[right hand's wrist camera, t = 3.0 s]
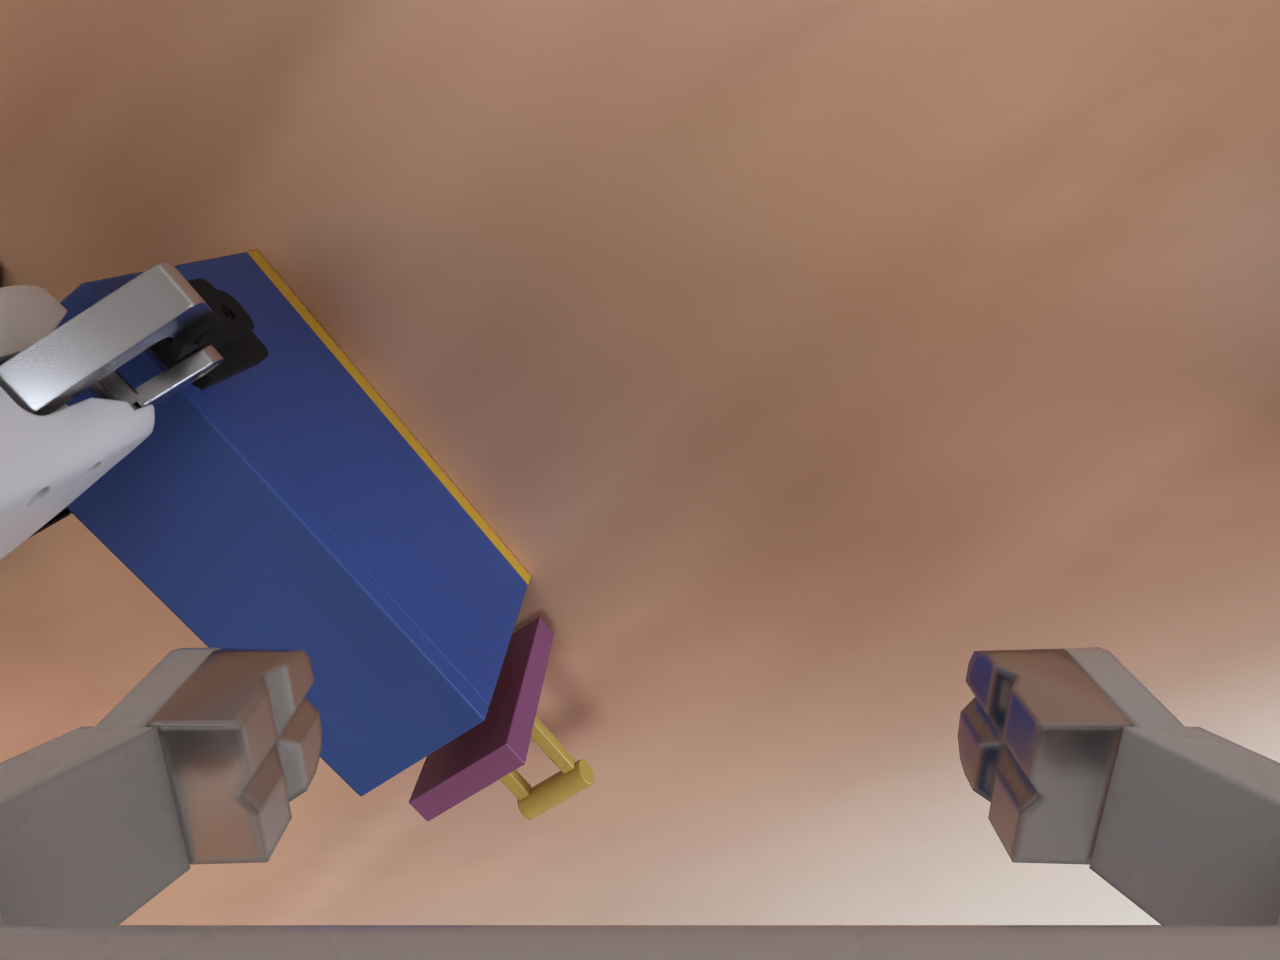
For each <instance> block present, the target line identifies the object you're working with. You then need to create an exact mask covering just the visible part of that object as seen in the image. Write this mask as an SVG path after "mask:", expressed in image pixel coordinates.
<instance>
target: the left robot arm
mask: <svg viewBox="0 0 1280 960" xmlns="http://www.w3.org/2000/svg"><path fill="white" fill-rule="evenodd" d="M67 311H68V310H67V309H66V308H64V307H63V306H62V305H61V304H60V303H59V302H58V301H57V300H56V299H55V298H54V297H53V296H52V295H51V294H50V293H49V292H48V291H47V290H46V289H44V288H42V287H37V286H30V285H15V286H7V287H1V288H0V560H1V559H2V558H3V557H5V556H6V555H7V554H8V553H10V552H11V551H12V550H14V549H15V548H16V547H18V546H19V545H20V544H21V543H23V542H24V541H25V540H27V539H28V538H30V537H31V536H33V535H35V534H37V533H38V532H40V531H42V530H44V529H45V528H47V527H49V526H51V525H53V524H54V523H56V522H58V521H60V520H61V519H63V518H65V517H67V516H68V515H70V514H71V513H72V512H71V511H70V510H69V509H68V508H67V506H68V505H69V504H70V503H71V502H73V501H74V500H75V499H76V498H77V497H78V496H80V495H81V494H82V493H83V492H84V491H85V490H87V489H88V488H89V487H90V486H91V485H92V484H94V483H95V482H96V481H97V480H98V479H99V478H100V477H102V476H103V475H104V474H105V473H106V472H107V471H109V470H110V469H111V468H112V467H113V466H114V465H116V464H117V463H118V462H119V461H120V460H122V459H123V458H124V457H125V456H126V455H128V454H129V453H130V452H131V451H132V450H134V449H135V448H136V447H137V446H138V445H139V444H141V443H142V442H143V441H144V440H145V439H146V438H147V437H148V436H149V435H150V434H151V433H152V431H153V427H154V421H155V411H154V407H155V406H157V405H159V404H160V403H162V402H163V401H165V400H166V399H168V398H170V397H171V396H173V395H174V394H176V393H178V392H179V391H181V390H182V389H184V388H186V387H187V386H189V385H190V384H192V385H194V386H195V387H198V388H200V389H201V390H204V389H206V388H208V387H210V386H212V385H215V384H217V383H219V382H221V381H223V380H225V379H228V378H230V377H232V376H234V375H236V374H239V373H241V372H243V371H245V370H247V369H249V368H252V367H254V366H256V365H258V364H259V363H260V362H261V361H263V360H264V359H265V358H266V357H268V355H269V353H268V350H267V348H266V347H265V345H264V344H263V343H262V342H261V341H260V339H259V338H258V337H257V336H256V335H255V334H254V333H253V331H252V330H253V329H254V323H253V321H252V319H251V317H250V316H249V314H248V313H247V312H246V311H245V309H244V308H243V307H242V306H241V305H240V304H239V302H238V301H237V300H236V299H235V298H233V297H232V296H231V295H230V294H228V293H226V292H225V291H222V290H216V289H215V287H214V286H213V285H212V284H211V283H209V282H208V281H206V280H205V279H202V278H198V279H193V280H188V281H187V280H186V279H185V278H184V277H183V276H182V275H181V273H180V272H179V271H178V270H177V269H176V268H175V267H174V265H173V264H172V263H171V262H170V261H165V262H161V263H159V264H157V265H155V266H153V267H151V268H149V269H148V270H146V271H145V272H143V273H142V274H140V275H139V276H137V277H135V278H134V279H132V280H131V281H129V282H128V283H126V284H125V285H123V286H122V287H120V288H119V289H117V290H115V291H114V292H112V293H111V294H109V295H108V296H106V297H105V298H103V299H102V300H100V301H99V302H97V303H95V304H94V305H92V306H91V307H89V308H88V309H86V310H85V311H83V312H82V313H80V314H78V315H77V316H75V317H74V318H72V319H71V320H69V321H68V322H66V323H65V324H63V325H62V326H60V327H58V328H57V329H56V327H57V326H58V325H59V323H60V322H61V320H62V319H63V318H64V316H65V315H66V313H67ZM147 348H150V349H151V350H152V351H153V352H154V354H155V355H156V356H157V357H158V358H159V359H160V360H161V361H162V362H163V363H164V364H165V366H166V367H167V368H168V369H167V370H165V371H163V372H162V373H160V374H158V375H157V376H155V377H153V378H152V379H150V380H148V381H147V382H145V383H143V384H142V385H140V386H138V387H137V388H135V389H134V388H133V387H132V386H131V385H130V384H129V383H128V382H127V381H126V380H125V378H124V377H123V376H122V375H121V374H120V373H119V372H118V371H117V370H116V369H118V368H119V367H121V366H122V365H124V364H125V363H126V362H128V361H129V360H131V359H132V358H134V357H135V356H137V355H138V354H140V353H141V352H143V351H144V350H146V349H147ZM87 389H88V390H89V391H90V392H91V393H92V394H93V395H94V396H95V397H96V398H89V399H86V400H84V401H81V402H79V403H76V404H74V405H71V406H68V405H67V404H66V403H67V402H69V401H70V400H72V399H73V398H75V397H76V396H78V395H79V394H81V393H82V392H84V391H85V390H87Z"/></svg>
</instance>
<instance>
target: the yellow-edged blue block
mask: <svg viewBox="0 0 1280 960" xmlns="http://www.w3.org/2000/svg"><path fill="white" fill-rule="evenodd" d="M174 267H175V268H176V269H177V270H178V271H179V272H180V273H181V275H182V276H183V277H184V278H185V279H186V280H187V281H188V280H193V279H198V278H202V279H205V280H206V281H208V282H209V283H211V284H212V285H213V286H214V287H215V289H216V290H222V291H225V292H226V293H228V294H230V295H231V296H232V297H233V298H235V299H236V300H237V301H238V302H239V304H240V305H241V306H242V307H243V308H244V309H245V311H246V312H247V313H248V314H249V316H250V317H251V319H252V321H253V323H254V329H253V330H252V331H253V333H254V334H255V335H256V336H257V337H258V338H259V339H260V341H261V342H262V343H263V344H264V345H265V347H266V348H267V350H268V353H269V355H268V357H266V358H265V359H264V360H263V361H261V362H260V363H259V364H258V365H256V366H254V367H252V368H249V369H247V370H245V371H243V372H241V373H239V374H236V375H234V376H232V377H230V378H228V379H225V380H223V381H221V382H219V383H217V384H215V385H212V386H210V387H208V388H206V389H204V390H201V389H200V388H198V387H195V386H194V385H192V384H190V385H189V386H187V387H186V388H184V389H182V390H181V391H179V392H178V393H176V394H174V395H173V396H171V397H170V398H168V399H166V400H165V401H163V402H162V403H160V404H159V405H157V406H155V407H154V411H155V421H154V427H153V431H152V433H151V434H150V435H149V436H148V437H147V438H146V439H145V440H144V441H143V442H142V443H141V444H139V445H138V446H137V447H136V448H135V449H134V450H132V451H131V452H130V453H129V454H128V455H126V456H125V457H124V458H123V459H122V460H120V461H119V462H118V463H117V464H116V465H114V466H113V467H112V468H111V469H110V470H109V471H107V472H106V473H105V474H104V475H103V476H102V477H100V478H99V479H98V480H97V481H96V482H95V483H94V484H92V485H91V486H90V487H89V488H88V489H87V490H85V491H84V492H83V493H82V494H81V495H80V496H78V497H77V498H76V499H75V500H74V501H73V502H71V503H70V504H69V505H68V506H67V508H68V509H69V510H70V511H71V512H72V513H73V514H74V515H75V516H76V517H77V518H78V519H79V520H80V521H81V522H82V523H83V524H84V525H85V526H86V527H87V528H88V529H89V530H90V531H91V532H92V533H93V534H94V535H95V536H96V537H97V538H98V539H99V540H100V541H101V542H102V543H103V544H104V545H105V546H106V547H107V548H108V549H109V550H110V551H111V552H112V553H113V554H114V555H115V556H116V557H117V558H118V559H119V560H120V561H121V562H122V563H123V564H125V565H126V566H127V567H128V568H129V569H130V570H131V571H132V572H133V573H134V574H135V575H136V576H137V577H138V578H139V579H140V580H141V581H142V582H143V583H144V584H145V585H146V586H147V587H148V588H149V589H150V590H151V591H152V592H153V593H154V594H155V595H156V596H157V597H158V598H159V599H160V600H161V601H162V602H163V603H164V604H165V605H166V606H167V607H168V608H169V609H170V610H171V611H172V612H173V613H174V614H175V615H176V616H177V617H178V618H179V619H180V620H181V621H182V622H184V623H185V624H186V625H187V626H188V627H189V628H190V629H191V630H192V631H193V632H194V633H195V634H196V635H197V636H198V637H199V638H200V639H201V640H202V641H203V642H204V643H205V644H206V645H207V646H208V647H209V648H219V649H223V648H239V649H289V650H303V651H304V652H305V653H306V654H307V655H308V656H309V657H310V662H311V667H312V672H313V677H314V682H313V684H312V685H311V687H310V689H309V690H308V692H307V693H306V695H305V696H304V697H305V698H306V699H307V700H308V701H309V702H310V703H311V704H312V705H313V706H314V707H315V708H316V709H317V710H318V711H319V713H320V720H321V727H322V747H321V753H320V757H321V758H322V759H323V760H324V761H325V762H326V763H327V764H328V765H329V766H330V767H331V768H332V769H333V770H334V771H335V772H336V773H337V774H338V775H339V776H340V777H341V778H342V779H343V780H344V781H345V782H346V783H347V784H348V785H349V786H350V787H351V788H352V789H353V790H354V791H355V792H356V793H357V794H358V795H360V796H363V795H364V794H366V793H368V792H369V791H371V790H372V789H374V788H376V787H377V786H379V785H381V784H382V783H384V782H385V781H387V780H389V779H390V778H392V777H393V776H395V775H397V774H398V773H400V772H402V771H403V770H405V769H406V768H408V767H410V766H411V765H413V764H415V763H416V762H418V761H419V760H421V759H423V758H424V757H426V756H428V755H429V754H431V753H432V752H434V751H436V750H437V749H439V748H441V747H442V746H444V745H445V744H447V743H449V742H450V741H452V740H454V739H455V738H457V737H458V736H460V735H462V734H463V733H465V732H467V731H468V730H470V729H471V728H473V727H475V726H476V725H478V724H480V723H481V722H483V721H484V720H485V718H486V715H487V711H488V707H489V705H490V702H491V699H492V696H493V693H494V689H495V686H496V683H497V680H498V677H499V674H500V670H501V667H502V664H503V661H504V658H505V655H506V651H507V648H508V645H509V642H510V639H511V636H512V632H513V629H514V626H515V623H516V620H517V616H518V613H519V610H520V607H521V604H522V601H523V597H524V594H525V591H526V588H527V586H528V585H529V582H530V578H531V576H530V575H529V574H528V572H527V571H526V570H525V569H524V568H523V566H522V565H521V564H520V563H519V562H518V560H517V559H516V558H515V557H514V556H513V554H512V553H511V552H510V551H509V550H508V548H507V547H506V546H505V545H504V544H503V543H502V541H501V540H500V539H499V538H498V537H497V535H496V534H495V533H494V532H493V531H492V529H491V528H490V527H489V526H488V525H487V523H486V522H485V521H484V520H483V519H482V518H481V516H480V515H479V514H478V513H477V512H476V510H475V509H474V508H473V507H472V506H471V504H470V503H469V502H468V501H467V500H466V498H465V497H464V496H463V495H462V494H461V492H460V491H459V490H458V489H457V488H456V487H455V485H454V484H453V483H452V482H451V481H450V479H449V478H448V477H447V476H446V475H445V473H444V472H443V471H442V470H441V469H440V467H439V466H438V465H437V464H436V463H435V462H434V460H433V459H432V458H431V457H430V456H429V454H428V453H427V452H426V451H425V450H424V448H423V447H422V446H421V445H420V444H419V442H418V441H417V440H416V439H415V438H414V436H413V435H412V434H411V433H410V432H409V431H408V429H407V428H406V427H405V426H404V425H403V423H402V422H401V421H400V420H399V419H398V417H397V416H396V415H395V414H394V413H393V411H392V410H391V409H390V408H389V407H388V406H387V404H386V403H385V402H384V401H383V400H382V398H381V397H380V396H379V395H378V394H377V392H376V391H375V390H374V389H373V388H372V386H371V385H370V384H369V383H368V382H367V380H366V379H365V378H364V377H363V376H362V375H361V373H360V372H359V371H358V370H357V369H356V367H355V366H354V365H353V364H352V363H351V361H350V360H349V359H348V358H347V357H346V355H345V354H344V353H343V352H342V351H341V350H340V348H339V347H338V346H337V345H336V344H335V342H334V341H333V340H332V339H331V338H330V336H329V335H328V334H327V333H326V332H325V330H324V329H323V328H322V327H321V326H320V324H319V323H318V322H317V321H316V320H315V319H314V317H313V316H312V315H311V314H310V313H309V311H308V310H307V309H306V308H305V307H304V305H303V304H302V303H301V302H300V301H299V299H298V298H297V297H296V296H295V295H294V294H293V292H292V291H291V290H290V289H289V288H288V286H287V285H286V284H285V283H284V282H283V280H282V279H281V278H280V277H279V276H278V274H277V273H276V272H275V271H274V270H273V268H272V267H271V266H270V265H269V264H268V263H267V261H266V260H265V259H264V258H263V257H262V255H261V254H260V253H259V252H258V251H257V249H256V250H250V251H246V252H245V253H240V254H235V255H230V256H224V257H219V258H214V259H208V260H203V261H198V262H192V263H187V264H182V265H177V266H174ZM142 273H143V272H140V273H134V274H129V275H124V276H118V277H113V278H108V279H102V280H100V281H99V280H97V281H92V282H87V283H82V284H81V285H80V286H79V287H77V288H76V289H75V290H74V291H73V292H72V293H71V294H70V295H68V296H67V297H66V298H65V299H64V300H63V301H62V302H61V303H60V304H61V305H62V306H63V307H64V308H66V309H67V310H68V311H67V313H66V315H65V316H64V318H63V319H62V320H61V322H60V323H59V325H58V326H57V327H56V329H57V328H58V327H60V326H62V325H63V324H65V323H66V322H68V321H69V320H71V319H72V318H74V317H75V316H77V315H78V314H80V313H82V312H83V311H85V310H86V309H88V308H89V307H91V306H92V305H94V304H95V303H97V302H99V301H100V300H102V299H103V298H105V297H106V296H108V295H109V294H111V293H112V292H114V291H115V290H117V289H119V288H120V287H122V286H123V285H125V284H126V283H128V282H129V281H131V280H132V279H134V278H135V277H137V276H139V275H140V274H142ZM167 369H168V368H167V367H166V366H165V364H164V363H163V362H162V361H161V360H160V359H159V358H158V357H157V356H156V355H155V354H154V352H153V351H152V350H151V349H150V348H147V349H146V350H144V351H143V352H141V353H140V354H138V355H137V356H135V357H134V358H132V359H131V360H129V361H128V362H126V363H125V364H124V365H122V366H121V367H119V368H118V369H116V370H117V371H118V372H119V373H120V374H121V375H122V376H123V377H124V378H125V380H126V381H127V382H128V383H129V384H130V385H131V386H132V387H133V388H134V389H135V388H137V387H138V386H140V385H142V384H143V383H145V382H147V381H148V380H150V379H152V378H153V377H155V376H157V375H158V374H160V373H162V372H163V371H165V370H167ZM89 398H96V397H95V396H94V395H93V394H92V393H91V392H90V391H89V390H88V389H87V390H85V391H84V392H82V393H81V394H79V395H78V396H76V397H75V398H73V399H72V400H70V401H69V402H67V403H66V404H67V405H68V406H71V405H74V404H76V403H79V402H81V401H84V400H86V399H89Z"/></svg>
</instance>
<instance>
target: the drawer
mask: <svg viewBox="0 0 1280 960" xmlns="http://www.w3.org/2000/svg"><path fill="white" fill-rule="evenodd" d="M553 636H554V633H553V632H552V631H551V630H550V628H549V627H548V626H547V625H546V624H545V623H544V621H543V620H542V619H541V618H540V617H539V618H537V619H536V620H534V621H533V622H531V623H529V624H528V625H526V626H525V627H523V628H522V629H520V630H519V631H517V632H515V633H514V634H512V636H511V639H510V642H509V645H508V648H507V651H506V655H505V658H504V661H503V664H502V667H501V670H500V674H499V677H498V680H497V683H496V686H495V689H494V693H493V696H492V699H491V702H490V705H489V707H488V711H487V715H486V718H485V720H484V721H483V722H481V723H480V724H478V725H476V726H475V727H473V728H471V729H470V730H468V731H467V732H465V733H463V734H462V735H460V736H458V737H457V738H455V739H454V740H452V741H450V742H449V743H447V744H445V745H444V746H442V747H441V748H439V749H437V750H436V751H434V752H432V753H431V754H429V755H428V756H427V758H426V760H425V763H424V765H423V768H422V770H421V773H420V775H419V778H418V780H417V783H416V785H415V788H414V791H413V793H412V796H411V798H410V801H409V803H410V804H411V805H412V806H413V807H414V808H415V809H416V810H417V811H418V812H419V813H420V814H421V815H422V816H423V817H424V818H425V819H426V820H427V821H430V820H431V819H433V818H435V817H436V816H438V815H440V814H441V813H443V812H445V811H446V810H448V809H450V808H451V807H453V806H455V805H457V804H458V803H460V802H462V801H463V800H465V799H467V798H468V797H470V796H472V795H473V794H475V793H477V792H478V791H480V790H482V789H484V788H485V787H487V786H489V785H490V784H492V783H494V782H495V781H497V780H499V779H500V780H501V781H502V782H503V783H504V784H505V785H506V786H507V787H508V789H509V790H510V791H511V792H512V793H513V794H514V795H515V796H516V797H517V798H518V806H519V809H520V811H521V813H522V815H523V816H524V817H525V818H527V819H533V818H535V817H536V816H538V815H540V814H542V813H543V812H545V811H547V810H549V809H550V808H552V807H554V806H556V805H557V804H559V803H561V802H563V801H564V800H566V799H568V798H570V797H571V796H573V795H575V794H577V793H578V792H580V791H582V790H584V789H585V788H587V787H589V786H591V785H592V784H593V783H594V774H593V771H592V769H591V767H590V766H589V764H588V763H587V762H586V761H585V760H579V761H577V762H575V759H574V758H573V757H572V756H571V755H570V754H569V753H568V752H567V750H566V749H565V748H564V747H563V746H562V745H561V744H560V743H559V742H558V740H557V739H556V738H555V737H554V736H553V735H552V734H551V733H550V731H549V730H548V729H547V728H546V727H545V726H544V725H543V724H542V722H541V721H540V720H539V719H538V718H537V717H536V712H537V707H538V703H539V698H540V694H541V690H542V685H543V681H544V676H545V672H546V667H547V663H548V658H549V654H550V649H551V645H552V640H553ZM531 738H532V739H533V740H534V741H535V742H536V743H537V744H538V746H539V747H540V748H541V749H542V750H543V751H544V752H545V753H546V754H547V755H548V757H549V758H550V759H551V760H552V761H553V762H554V763H555V764H556V765H557V767H558V768H559V769H560V770H561V771H560V772H558V773H556V774H555V775H553V776H551V777H549V778H548V779H546V780H544V781H543V782H541V783H539V784H537V785H536V786H534V787H532V788H531V786H530V785H529V784H528V782H527V781H526V780H525V779H524V778H523V777H522V776H521V775H520V774H519V773H518V772H517V771H516V769H517V768H519V767H521V766H522V765H524V764H525V761H526V756H527V752H528V748H529V743H530V739H531Z"/></svg>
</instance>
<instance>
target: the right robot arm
mask: <svg viewBox="0 0 1280 960" xmlns="http://www.w3.org/2000/svg"><path fill="white" fill-rule="evenodd" d="M313 682H314V677H313V672H312V667H311V662H310V657H309V656H308V655H307V654H306V653H305V652H304V651H303V650H289V649H239V648H223V649H219V648H182V649H177V650H172V651H171V652H170V653H169V654H168V655H167V656H166V657H165V658H164V659H163V660H162V661H161V662H160V663H159V664H158V665H157V666H156V667H155V668H154V669H153V670H152V671H151V672H150V673H149V674H148V675H147V676H146V677H145V678H144V679H143V680H142V681H141V682H140V683H139V684H138V685H137V686H136V687H135V688H134V689H133V690H132V691H131V692H130V693H129V694H128V695H127V696H126V697H125V698H124V699H123V700H122V701H121V702H120V703H119V704H118V705H117V706H116V707H114V708H113V709H112V710H111V711H110V712H109V713H108V714H107V715H106V716H105V717H104V718H103V719H102V720H101V721H100V722H99V723H98V724H97V725H96V726H95V727H80V728H78V729H75V730H73V731H71V732H69V733H66V734H64V735H62V736H60V737H58V738H55V739H53V740H51V741H49V742H46V743H44V744H42V745H40V746H37V747H35V748H33V749H31V750H29V751H26V752H24V753H22V754H20V755H17V756H15V757H13V758H11V759H8V760H6V761H4V762H2V763H0V960H1280V763H1278V762H1276V761H1274V760H1271V759H1269V758H1267V757H1265V756H1262V755H1260V754H1258V753H1256V752H1254V751H1251V750H1249V749H1247V748H1245V747H1242V746H1240V745H1238V744H1236V743H1234V742H1231V741H1229V740H1227V739H1225V738H1222V737H1220V736H1218V735H1216V734H1213V733H1211V732H1209V731H1207V730H1205V729H1202V728H1200V727H1185V726H1184V725H1183V724H1182V723H1181V722H1180V721H1179V720H1178V719H1177V718H1176V717H1175V716H1174V715H1173V714H1172V713H1171V712H1170V711H1169V710H1168V709H1167V708H1166V707H1165V706H1164V705H1163V704H1162V703H1161V702H1160V701H1159V700H1158V699H1157V698H1156V697H1155V696H1154V695H1153V694H1152V693H1151V692H1150V691H1149V690H1148V689H1147V688H1146V687H1145V686H1144V685H1143V684H1142V683H1141V682H1140V681H1139V680H1138V679H1137V678H1136V677H1135V676H1134V675H1133V674H1131V673H1130V672H1129V671H1128V670H1127V669H1126V668H1125V667H1124V666H1123V665H1122V664H1121V663H1120V662H1119V661H1118V660H1117V659H1116V658H1115V657H1114V656H1113V655H1112V654H1111V653H1110V652H1109V651H1107V650H1104V649H1102V648H1099V647H1092V648H1067V649H1035V650H995V651H974V653H973V655H972V657H971V659H970V662H969V665H968V670H967V676H966V682H967V684H968V685H969V687H970V689H971V690H972V692H973V693H974V695H975V698H974V699H973V700H972V701H971V702H970V703H969V704H968V705H967V706H966V707H965V708H964V709H963V710H962V711H961V714H960V722H959V730H958V743H959V753H960V760H961V763H962V766H963V770H964V773H965V776H966V778H967V779H968V781H969V783H970V785H971V787H972V789H973V791H975V792H976V793H978V794H979V795H981V796H982V797H984V798H985V799H987V800H988V801H990V802H991V805H990V811H989V817H988V819H989V820H990V822H991V824H992V826H993V828H994V829H995V831H996V833H997V835H998V837H999V838H1000V840H1001V842H1002V844H1003V846H1004V847H1005V849H1006V851H1007V853H1008V855H1009V856H1010V858H1011V860H1012V862H1021V863H1057V864H1090V869H1092V870H1093V871H1094V872H1095V873H1097V874H1098V875H1099V876H1100V877H1102V878H1103V879H1104V880H1105V881H1107V882H1108V883H1109V884H1110V885H1112V886H1113V887H1114V888H1116V889H1117V890H1118V891H1119V892H1121V893H1122V894H1123V895H1124V896H1126V897H1127V898H1128V899H1129V900H1131V901H1132V902H1133V903H1135V904H1136V905H1137V906H1138V907H1140V908H1141V909H1142V910H1143V911H1145V912H1146V913H1147V914H1148V915H1150V916H1151V917H1152V918H1153V919H1155V920H1156V921H1157V922H1159V923H1160V924H1161V925H119V924H120V923H122V922H123V921H124V920H125V919H127V918H128V917H129V916H131V915H132V914H133V913H134V912H136V911H137V910H138V909H139V908H141V907H142V906H143V905H144V904H146V903H147V902H148V901H150V900H151V899H152V898H153V897H155V896H156V895H157V894H158V893H160V892H161V891H162V890H163V889H165V888H166V887H167V886H169V885H170V884H171V883H172V882H174V881H175V880H176V879H177V878H179V877H180V876H181V875H182V874H184V873H185V872H186V871H188V870H189V869H190V864H222V863H257V862H268V860H269V858H270V857H271V855H272V853H273V851H274V849H275V848H276V846H277V844H278V842H279V840H280V838H281V837H282V835H283V833H284V831H285V829H286V828H287V826H288V824H289V822H290V820H291V819H292V817H291V811H290V805H289V802H290V801H292V800H293V799H295V798H296V797H298V796H299V795H301V794H302V793H304V792H305V791H307V789H308V787H309V785H310V783H311V781H312V779H313V777H314V775H315V773H316V770H317V766H318V762H319V757H320V753H321V747H322V727H321V720H320V713H319V711H318V710H317V709H316V708H315V707H314V706H313V705H312V704H311V703H310V702H309V701H308V700H307V699H306V698H305V697H304V696H305V695H306V693H307V692H308V690H309V689H310V687H311V685H312V684H313Z"/></svg>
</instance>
